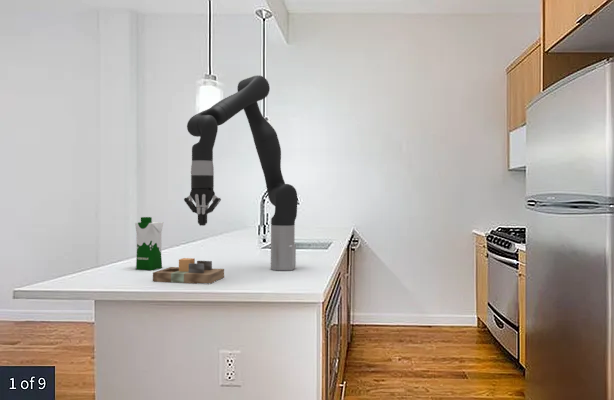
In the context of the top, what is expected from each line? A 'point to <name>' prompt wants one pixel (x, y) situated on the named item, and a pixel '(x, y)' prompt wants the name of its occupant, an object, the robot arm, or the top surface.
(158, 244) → the milk carton
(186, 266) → the orange block
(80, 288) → the top surface
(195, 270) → the wooden tray
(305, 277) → the top surface
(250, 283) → the top surface
